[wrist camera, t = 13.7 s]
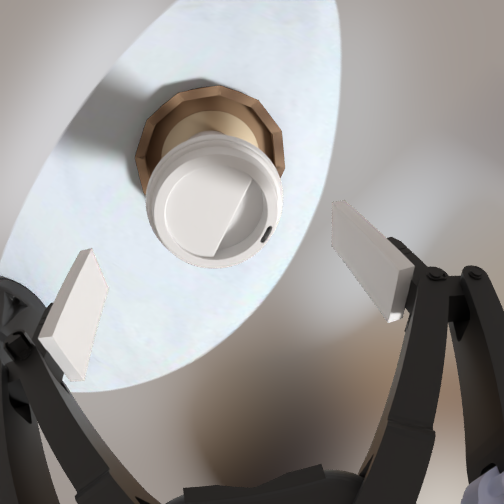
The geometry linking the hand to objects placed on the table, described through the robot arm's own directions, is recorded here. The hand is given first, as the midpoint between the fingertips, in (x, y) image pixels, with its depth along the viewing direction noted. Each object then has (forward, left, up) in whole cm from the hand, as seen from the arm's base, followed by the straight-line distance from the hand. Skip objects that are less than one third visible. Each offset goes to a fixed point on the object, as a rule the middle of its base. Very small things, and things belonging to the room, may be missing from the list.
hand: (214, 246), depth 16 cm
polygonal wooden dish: (0, 0, -20) cm, 20 cm away
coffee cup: (0, 0, -19) cm, 19 cm away
